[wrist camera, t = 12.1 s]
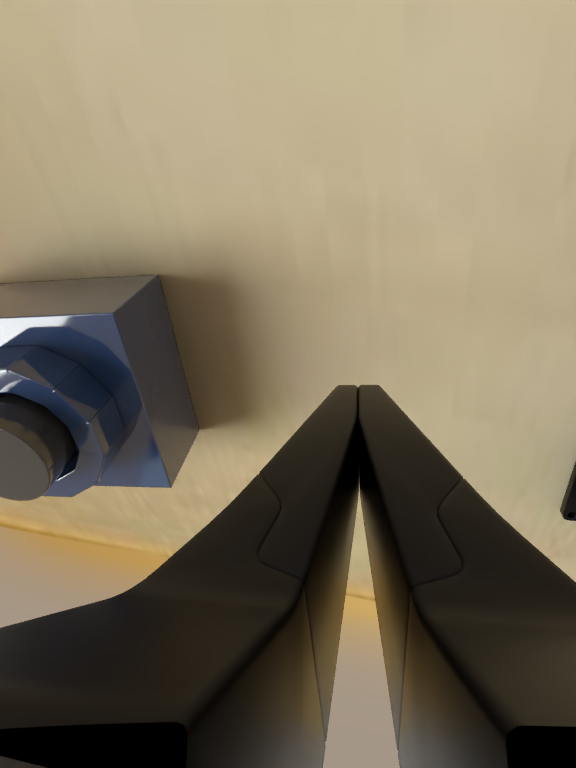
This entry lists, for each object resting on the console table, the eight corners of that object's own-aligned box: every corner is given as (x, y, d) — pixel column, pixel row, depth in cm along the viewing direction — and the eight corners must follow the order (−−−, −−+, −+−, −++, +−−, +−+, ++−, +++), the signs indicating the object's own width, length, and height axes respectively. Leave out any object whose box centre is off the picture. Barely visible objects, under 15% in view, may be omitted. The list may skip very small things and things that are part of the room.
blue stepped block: (199, 430, 27) (156, 519, 22) (55, 430, 29) (-21, 512, 23) (158, 274, 22) (86, 335, 16) (-15, 284, 24) (-136, 343, 18)
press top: (89, 470, 21) (65, 502, 19) (8, 468, 22) (-23, 500, 20) (54, 392, 19) (23, 422, 17) (-36, 394, 19) (-74, 422, 18)
